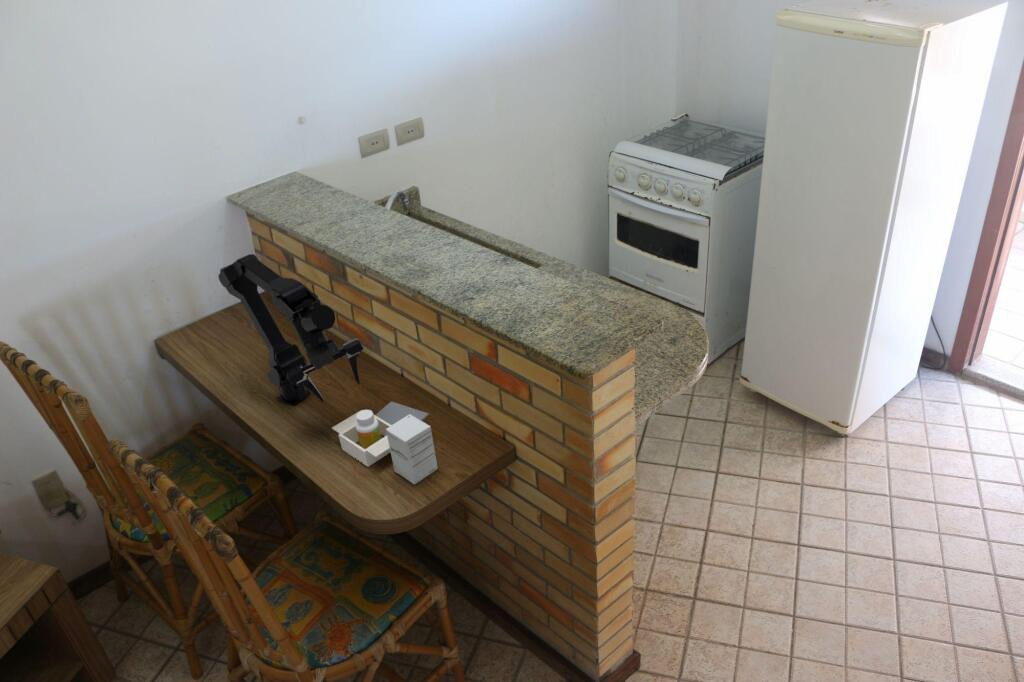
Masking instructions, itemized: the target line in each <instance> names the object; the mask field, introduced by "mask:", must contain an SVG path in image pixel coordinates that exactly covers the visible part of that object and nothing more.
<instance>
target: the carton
mask: <svg viewBox="0 0 1024 682" xmlns="http://www.w3.org/2000/svg"><path fill="white" fill-rule="evenodd" d="M362 410H363V409H361V410H359V411H357V412H356V413H354V414H352V415H351V416H349V417H347V418H345V419H344V420H342V421H341V422H339V423H337V424H336V425H334V426H332V427H331V429H332V430H333V431H335V432H336V433H338V439H339V443H340V446H341V450H342V451H343V452H345V453H347V454H348V455H349V456H351V457H353V458H354V459H355V458H356V459H355V460H357V461H358V460H359V462H360V463H361V462H362V465H364V466H366V467H368V468H369V467H370V466H372V465H373V464H375V463H376V462H378V461H380V460H381V459H382V458H384V457H385V456H387V455H388V454H391V452H390V447H389V442H388V437H387V433H386V429H387V428H388V427H390V426H391V425H390V424H389V423H387V422H385V421H384V420H382V419H380V418H379V417H377V416H375V415H376V414H374V413H373V415H374V418H376V419H377V420H378V423H379V428H380V432H381V436H384V437H382V439H381V440H379V441H377V442H376V443H374V444H373V445H371V446H370V447H368V448H366V449H363V448H362V447H360V444H357V443H359V440H358V436H357V432H356V427H355V425H356V422H357V419H356V415H357V413H358V412H360V411H362Z"/></svg>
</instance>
